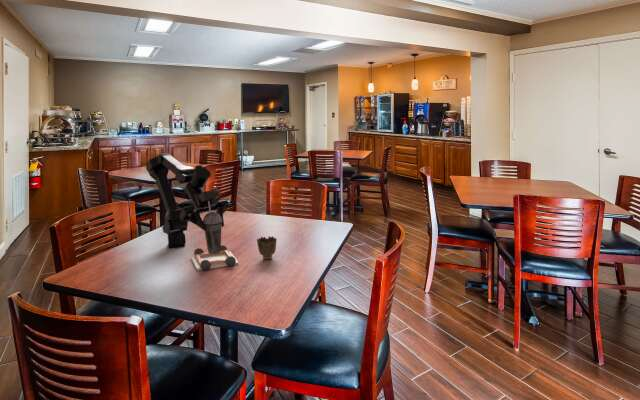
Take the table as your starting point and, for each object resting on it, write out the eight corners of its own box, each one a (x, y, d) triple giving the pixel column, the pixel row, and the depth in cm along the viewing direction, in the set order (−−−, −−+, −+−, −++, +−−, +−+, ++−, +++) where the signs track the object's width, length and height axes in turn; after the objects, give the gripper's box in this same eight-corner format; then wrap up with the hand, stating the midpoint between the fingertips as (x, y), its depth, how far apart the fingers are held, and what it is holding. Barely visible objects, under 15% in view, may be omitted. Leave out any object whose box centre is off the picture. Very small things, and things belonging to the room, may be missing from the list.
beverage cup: (228, 251, 159) (225, 199, 155) (213, 256, 153) (210, 203, 149) (215, 248, 163) (211, 197, 159) (200, 253, 157) (196, 201, 153)
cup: (277, 255, 164) (277, 235, 163) (276, 261, 157) (275, 241, 155) (258, 255, 164) (257, 236, 162) (256, 262, 157) (255, 241, 155)
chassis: (197, 271, 148) (196, 262, 147) (191, 258, 163) (190, 249, 162) (239, 265, 154) (238, 255, 153) (229, 252, 169) (229, 243, 168)
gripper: (180, 185, 149) (198, 220, 143) (225, 179, 162) (243, 211, 156) (172, 203, 156) (189, 238, 150) (215, 196, 169) (232, 227, 163)
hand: (214, 228), depth 155 cm, fingers closed on beverage cup, 7 cm apart
